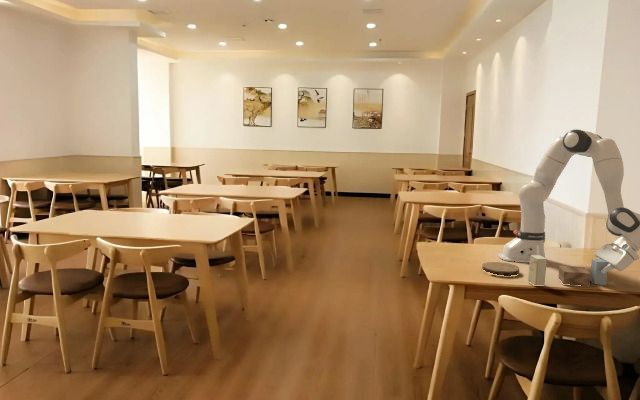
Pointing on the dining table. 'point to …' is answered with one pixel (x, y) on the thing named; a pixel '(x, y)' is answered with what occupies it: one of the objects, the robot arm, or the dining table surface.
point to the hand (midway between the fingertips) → (597, 269)
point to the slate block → (598, 271)
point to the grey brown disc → (501, 268)
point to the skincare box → (537, 270)
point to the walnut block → (574, 275)
